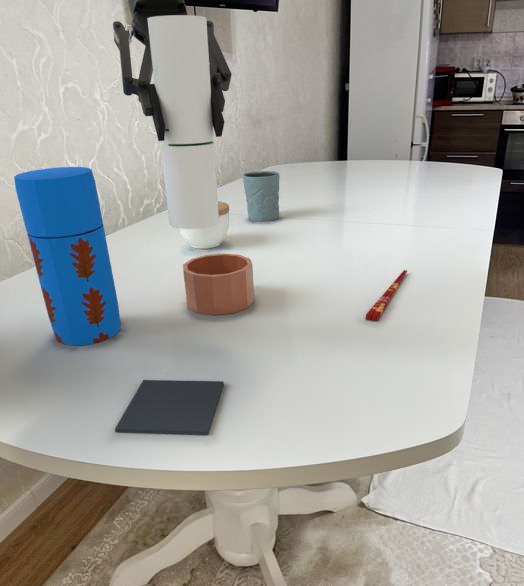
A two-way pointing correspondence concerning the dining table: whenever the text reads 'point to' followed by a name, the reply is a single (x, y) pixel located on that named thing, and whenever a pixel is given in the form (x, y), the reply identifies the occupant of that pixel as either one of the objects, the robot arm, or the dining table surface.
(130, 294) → the dining table surface
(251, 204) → the grey-green textured cup
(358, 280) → the dining table surface
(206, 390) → the mat
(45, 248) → the thermos
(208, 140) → the cylindrical container
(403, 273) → the chopstick
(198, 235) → the lidded bowl
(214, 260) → the crock
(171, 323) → the dining table surface
